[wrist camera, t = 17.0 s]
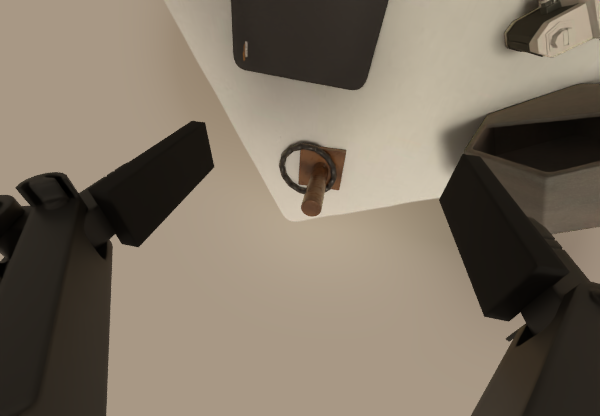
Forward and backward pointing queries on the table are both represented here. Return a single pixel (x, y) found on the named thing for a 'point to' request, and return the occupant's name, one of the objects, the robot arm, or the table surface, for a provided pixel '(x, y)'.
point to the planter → (548, 156)
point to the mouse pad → (308, 39)
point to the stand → (318, 177)
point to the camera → (555, 27)
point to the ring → (310, 148)
